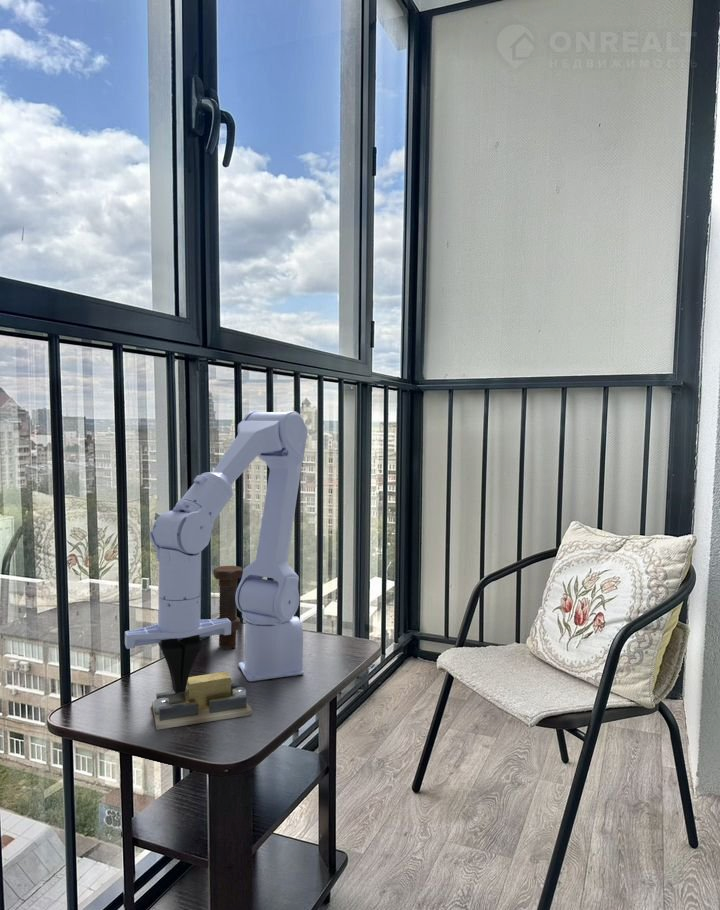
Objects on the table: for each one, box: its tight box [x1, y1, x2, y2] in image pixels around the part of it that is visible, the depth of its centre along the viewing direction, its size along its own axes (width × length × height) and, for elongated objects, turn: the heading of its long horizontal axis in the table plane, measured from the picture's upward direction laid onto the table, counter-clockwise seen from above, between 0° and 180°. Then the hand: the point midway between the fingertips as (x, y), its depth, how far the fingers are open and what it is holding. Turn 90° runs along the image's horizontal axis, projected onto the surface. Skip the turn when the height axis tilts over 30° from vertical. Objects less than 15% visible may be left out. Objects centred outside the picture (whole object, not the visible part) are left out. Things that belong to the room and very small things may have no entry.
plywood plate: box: [151, 696, 253, 730], centre depth 90 cm, size 13×8×1 cm, turn 112°
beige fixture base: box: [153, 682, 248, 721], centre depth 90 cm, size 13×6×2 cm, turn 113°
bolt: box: [213, 565, 244, 651], centre depth 117 cm, size 6×5×15 cm
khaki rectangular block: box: [185, 671, 232, 710], centre depth 90 cm, size 6×3×4 cm, turn 117°
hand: (179, 690), depth 89 cm, fingers closed
